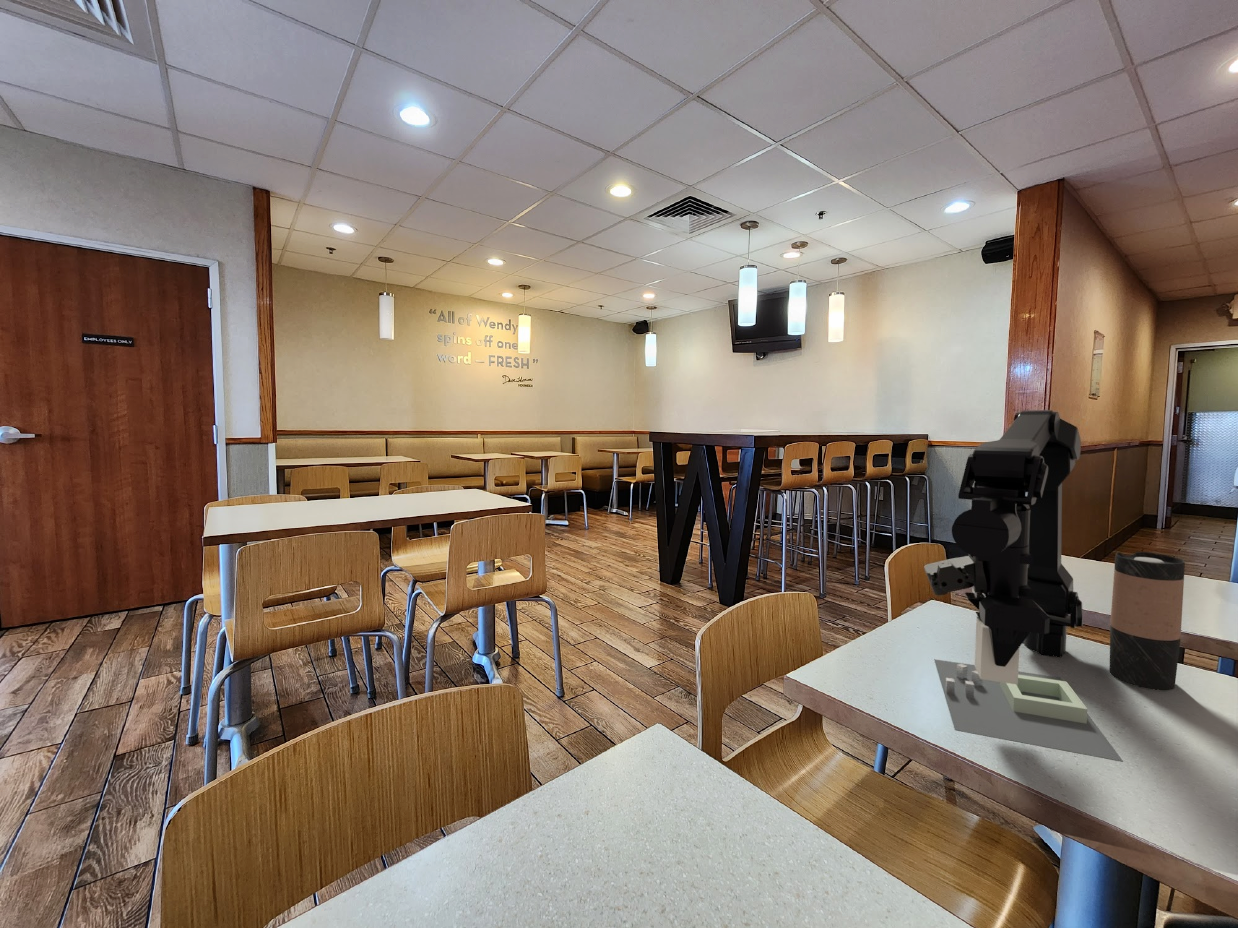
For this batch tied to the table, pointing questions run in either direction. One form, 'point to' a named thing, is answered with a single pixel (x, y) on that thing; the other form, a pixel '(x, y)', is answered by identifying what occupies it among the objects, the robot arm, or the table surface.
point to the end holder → (1063, 709)
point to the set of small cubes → (968, 684)
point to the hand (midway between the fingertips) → (996, 658)
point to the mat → (1017, 717)
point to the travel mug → (1146, 619)
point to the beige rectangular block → (992, 659)
